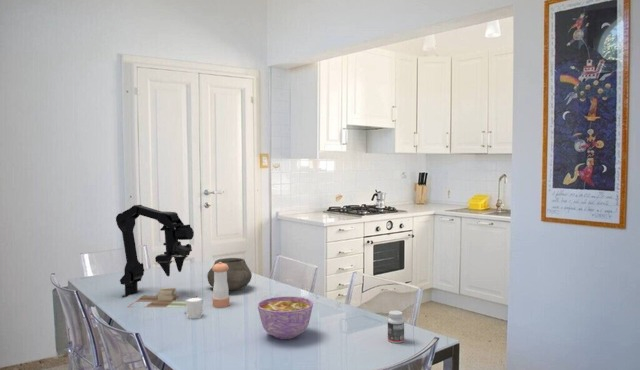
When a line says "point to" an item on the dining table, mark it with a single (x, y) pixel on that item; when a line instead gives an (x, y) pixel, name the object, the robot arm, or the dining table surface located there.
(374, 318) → the dining table surface
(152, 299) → the trap deck
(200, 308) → the white cylinder
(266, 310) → the bowl of food
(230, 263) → the clay pot
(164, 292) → the birch block
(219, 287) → the salt shaker
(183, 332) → the dining table surface
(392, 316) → the pill bottle
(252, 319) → the dining table surface
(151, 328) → the dining table surface
